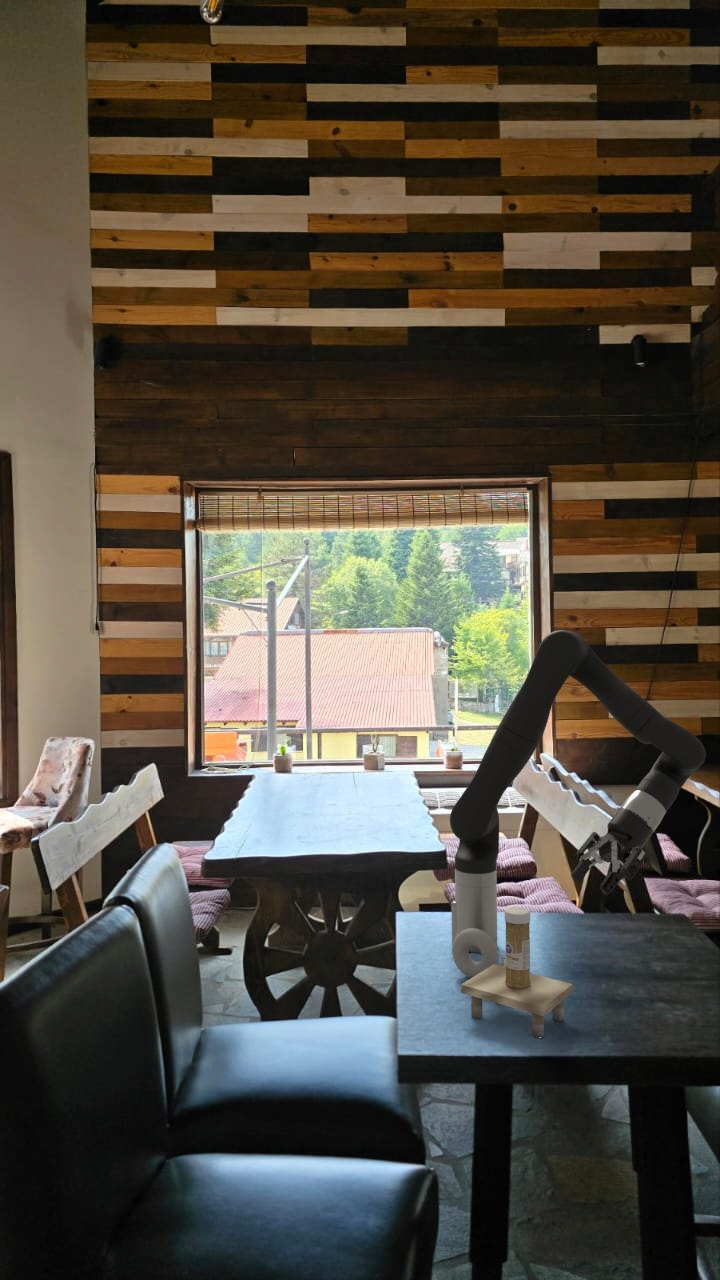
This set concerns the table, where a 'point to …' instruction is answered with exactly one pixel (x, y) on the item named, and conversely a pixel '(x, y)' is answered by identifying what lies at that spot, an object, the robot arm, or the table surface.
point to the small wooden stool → (518, 995)
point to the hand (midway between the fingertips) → (588, 885)
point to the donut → (480, 941)
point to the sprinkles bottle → (517, 947)
